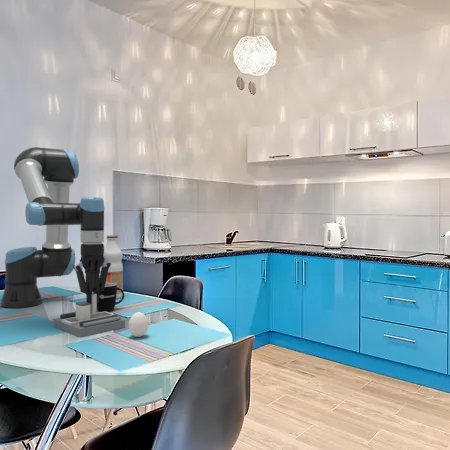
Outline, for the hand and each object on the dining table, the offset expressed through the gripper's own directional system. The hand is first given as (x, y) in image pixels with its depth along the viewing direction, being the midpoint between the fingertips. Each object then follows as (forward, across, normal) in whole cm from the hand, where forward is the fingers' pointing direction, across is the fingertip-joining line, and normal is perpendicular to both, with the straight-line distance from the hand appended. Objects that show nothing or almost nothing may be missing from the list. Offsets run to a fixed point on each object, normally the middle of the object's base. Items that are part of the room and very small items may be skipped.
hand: (92, 313), depth 143 cm
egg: (+5, +4, -21) cm, 22 cm away
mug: (+5, +17, +17) cm, 24 cm away
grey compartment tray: (+4, -1, 0) cm, 5 cm away
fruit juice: (+5, +31, +37) cm, 48 cm away
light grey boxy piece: (+2, -3, 0) cm, 4 cm away
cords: (+2, -1, -1) cm, 2 cm away
